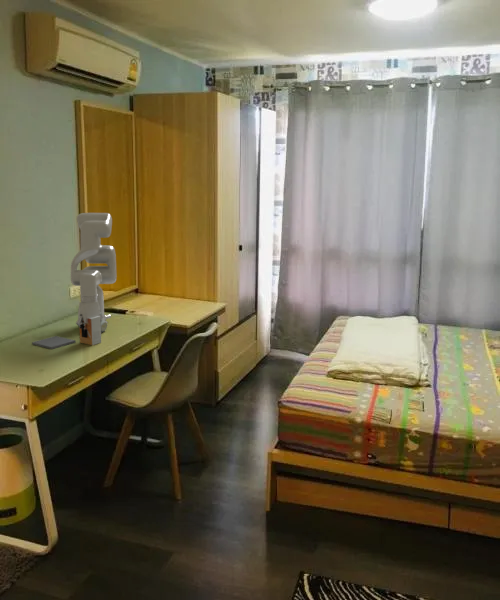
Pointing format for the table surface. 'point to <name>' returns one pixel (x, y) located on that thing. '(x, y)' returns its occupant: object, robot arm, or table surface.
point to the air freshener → (103, 325)
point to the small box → (92, 331)
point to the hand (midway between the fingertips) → (90, 335)
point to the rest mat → (54, 342)
